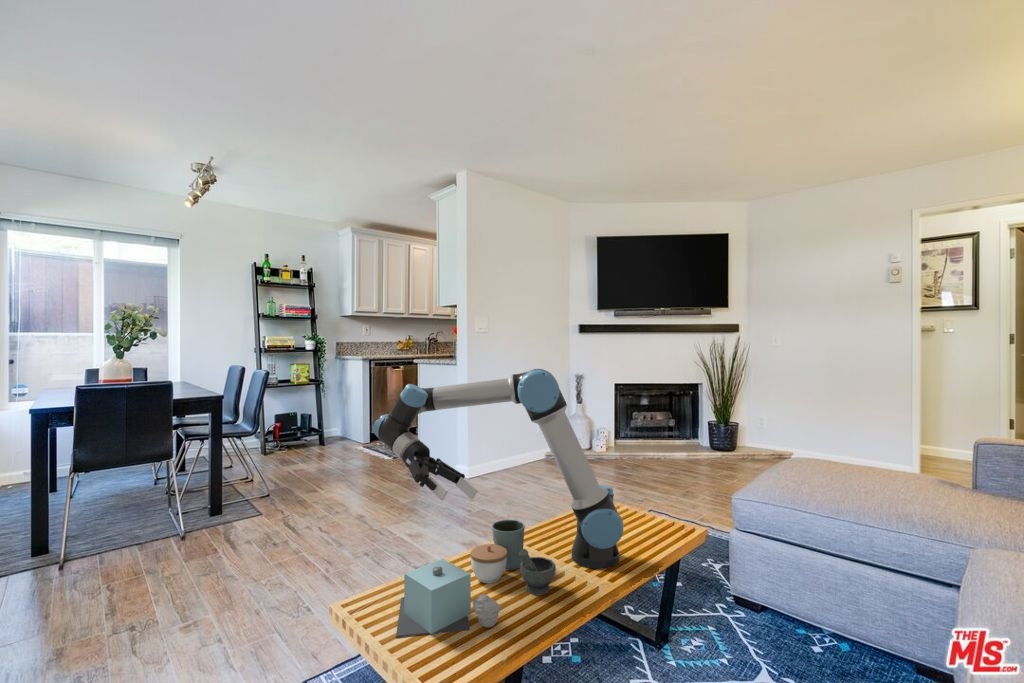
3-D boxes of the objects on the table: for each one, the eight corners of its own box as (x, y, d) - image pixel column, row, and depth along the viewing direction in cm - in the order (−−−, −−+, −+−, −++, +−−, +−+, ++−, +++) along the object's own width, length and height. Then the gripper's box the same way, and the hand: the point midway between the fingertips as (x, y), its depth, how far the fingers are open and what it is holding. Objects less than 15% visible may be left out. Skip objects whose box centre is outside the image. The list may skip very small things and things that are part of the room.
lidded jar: (474, 589, 129) (474, 555, 129) (467, 572, 139) (467, 540, 139) (511, 584, 132) (511, 551, 132) (502, 567, 142) (502, 536, 142)
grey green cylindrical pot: (530, 561, 146) (530, 523, 146) (513, 574, 137) (512, 533, 138) (504, 554, 151) (504, 517, 152) (485, 566, 143) (485, 526, 143)
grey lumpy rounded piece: (476, 616, 116) (476, 588, 116) (504, 620, 114) (503, 591, 114) (469, 631, 110) (469, 601, 110) (497, 635, 108) (497, 604, 108)
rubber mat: (464, 593, 127) (464, 591, 127) (469, 630, 110) (469, 628, 110) (401, 599, 124) (401, 597, 124) (396, 637, 107) (396, 635, 107)
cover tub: (442, 596, 124) (442, 554, 125) (470, 613, 116) (470, 568, 116) (404, 613, 116) (404, 568, 116) (431, 634, 108) (431, 585, 108)
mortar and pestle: (541, 577, 135) (541, 536, 136) (562, 591, 128) (562, 547, 128) (509, 588, 129) (509, 545, 129) (529, 603, 121) (529, 557, 122)
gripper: (432, 464, 145) (478, 506, 133) (374, 460, 124) (423, 509, 112) (444, 443, 145) (491, 483, 133) (388, 436, 124) (438, 482, 112)
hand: (460, 495), depth 123 cm, fingers open, 13 cm apart
